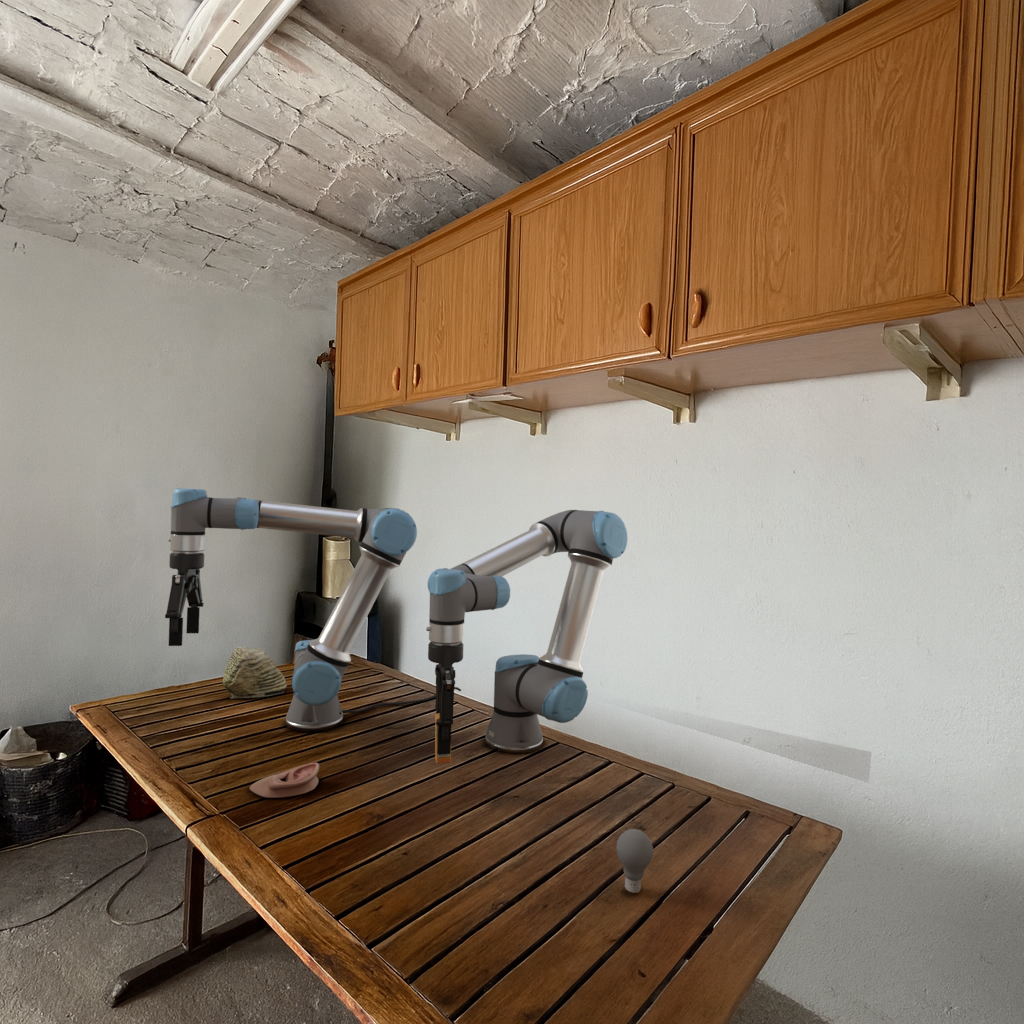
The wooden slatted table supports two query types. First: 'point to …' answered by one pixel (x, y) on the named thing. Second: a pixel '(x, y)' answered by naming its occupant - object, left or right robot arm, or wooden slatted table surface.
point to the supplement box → (441, 757)
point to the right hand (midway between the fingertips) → (442, 749)
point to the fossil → (252, 674)
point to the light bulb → (634, 857)
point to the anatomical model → (288, 782)
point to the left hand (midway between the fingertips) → (184, 639)
